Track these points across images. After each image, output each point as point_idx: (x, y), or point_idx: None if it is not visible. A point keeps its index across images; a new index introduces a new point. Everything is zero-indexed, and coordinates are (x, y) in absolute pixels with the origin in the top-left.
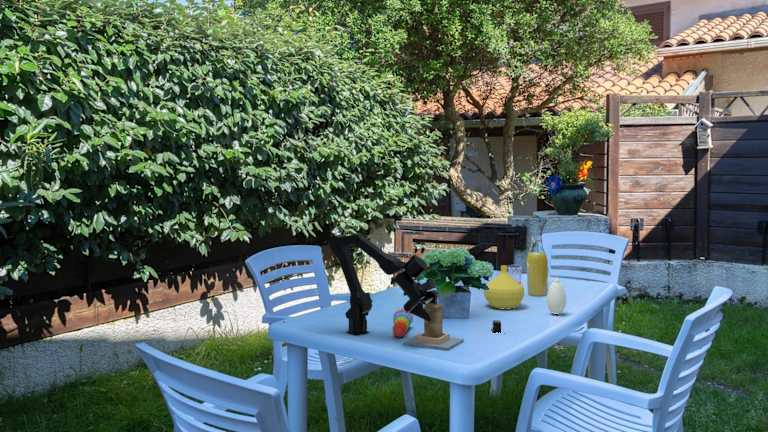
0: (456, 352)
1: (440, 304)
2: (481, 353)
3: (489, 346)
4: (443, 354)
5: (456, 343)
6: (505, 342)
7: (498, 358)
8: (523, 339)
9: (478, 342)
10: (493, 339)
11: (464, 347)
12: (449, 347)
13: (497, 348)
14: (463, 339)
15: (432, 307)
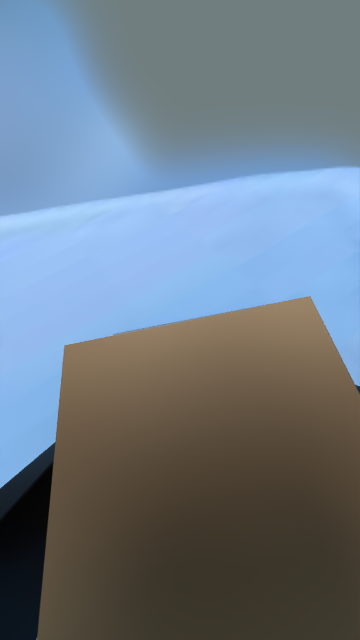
0: (263, 277)
1: (70, 378)
2: (214, 226)
3: (130, 250)
4: (323, 293)
5: (187, 320)
6: (65, 244)
7: (226, 181)
8: (16, 232)
9: (101, 296)
10: (44, 283)
11: (187, 293)
12: (258, 306)
13: (138, 227)
14: (116, 333)
15: (344, 387)
